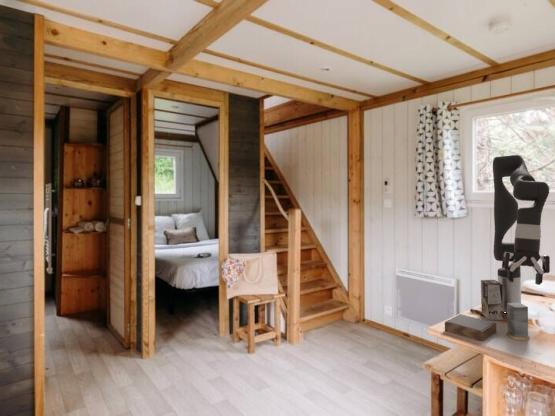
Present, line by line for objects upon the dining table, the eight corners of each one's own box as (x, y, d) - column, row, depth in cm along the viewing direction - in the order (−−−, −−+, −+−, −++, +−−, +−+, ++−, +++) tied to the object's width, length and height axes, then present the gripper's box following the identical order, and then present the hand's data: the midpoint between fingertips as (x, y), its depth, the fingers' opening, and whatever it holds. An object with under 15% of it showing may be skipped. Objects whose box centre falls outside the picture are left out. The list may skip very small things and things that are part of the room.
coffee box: (503, 320, 164) (503, 284, 163) (487, 320, 166) (487, 284, 165) (495, 313, 173) (495, 279, 172) (481, 312, 174) (480, 279, 173)
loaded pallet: (506, 334, 150) (505, 303, 149) (520, 333, 150) (519, 302, 149) (515, 340, 144) (514, 307, 143) (529, 339, 144) (529, 307, 143)
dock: (444, 330, 157) (444, 321, 156) (460, 322, 165) (459, 313, 164) (481, 341, 145) (481, 331, 145) (496, 331, 153) (496, 322, 152)
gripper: (544, 238, 133) (541, 283, 133) (501, 235, 135) (498, 279, 135) (555, 239, 125) (552, 287, 125) (509, 236, 128) (506, 282, 128)
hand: (524, 283), depth 130 cm, fingers open, 8 cm apart
